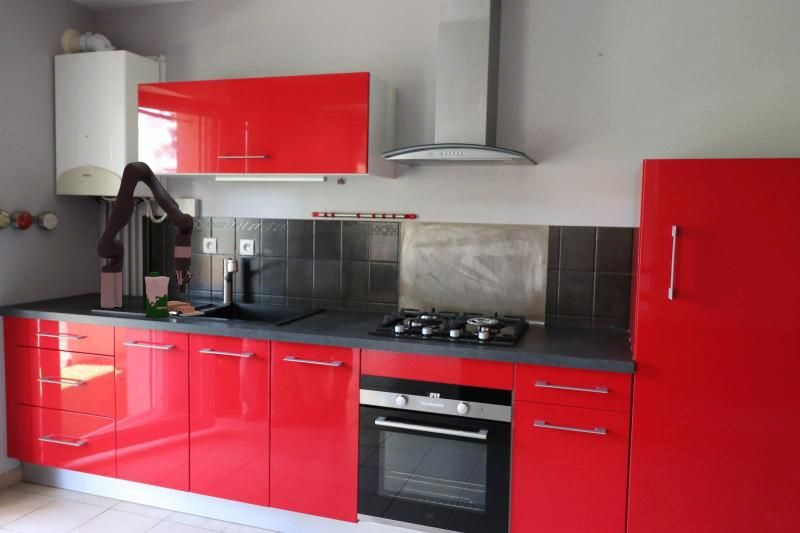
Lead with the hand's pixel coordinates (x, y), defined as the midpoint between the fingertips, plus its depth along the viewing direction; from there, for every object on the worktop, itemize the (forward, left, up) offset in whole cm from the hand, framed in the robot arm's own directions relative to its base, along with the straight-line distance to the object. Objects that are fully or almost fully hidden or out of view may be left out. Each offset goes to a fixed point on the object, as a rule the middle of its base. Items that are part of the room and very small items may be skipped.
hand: (182, 292), depth 312 cm
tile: (+2, -1, -9) cm, 9 cm away
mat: (+4, 0, -10) cm, 10 cm away
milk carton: (+2, -14, -10) cm, 17 cm away
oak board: (-8, 0, -10) cm, 12 cm away
